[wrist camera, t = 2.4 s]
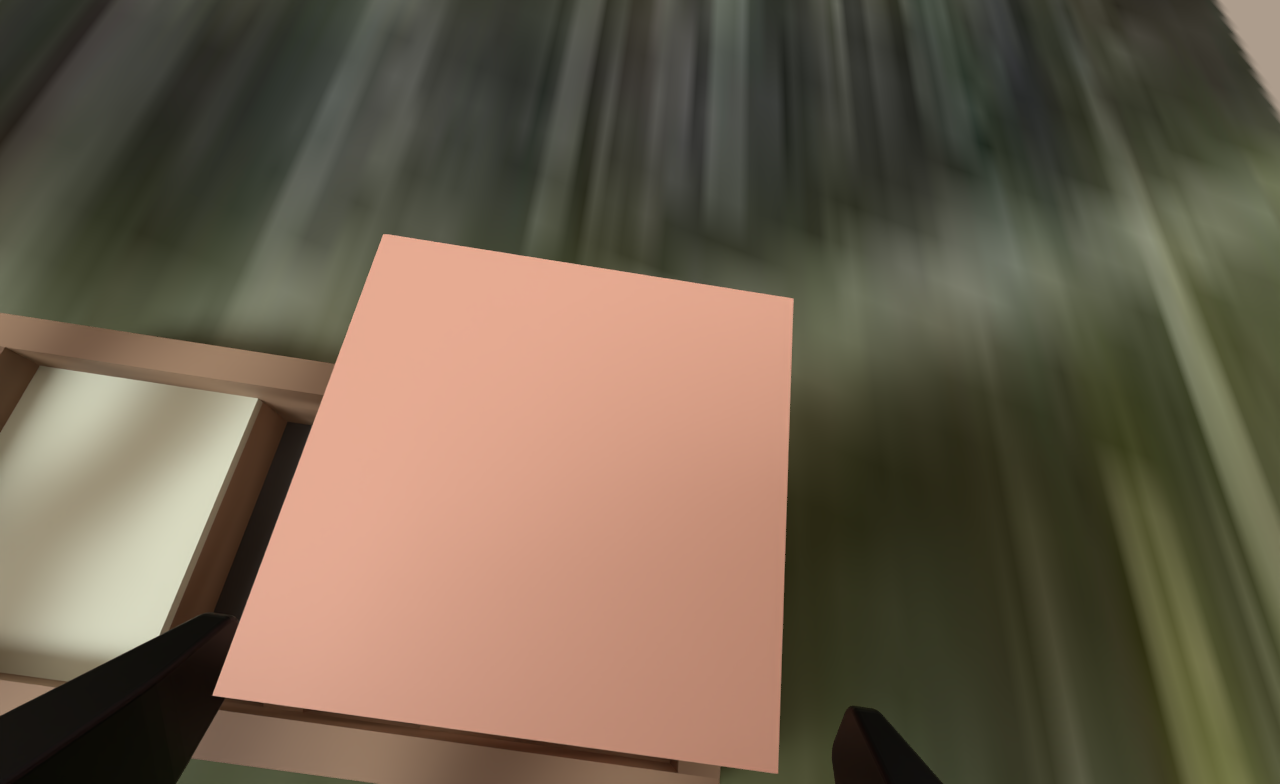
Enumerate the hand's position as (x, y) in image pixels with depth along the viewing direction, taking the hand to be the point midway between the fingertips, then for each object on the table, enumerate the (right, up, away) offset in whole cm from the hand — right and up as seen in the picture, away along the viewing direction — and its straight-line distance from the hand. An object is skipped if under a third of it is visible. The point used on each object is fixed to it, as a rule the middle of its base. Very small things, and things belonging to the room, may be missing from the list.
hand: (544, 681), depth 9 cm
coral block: (0, -1, +8) cm, 8 cm away
